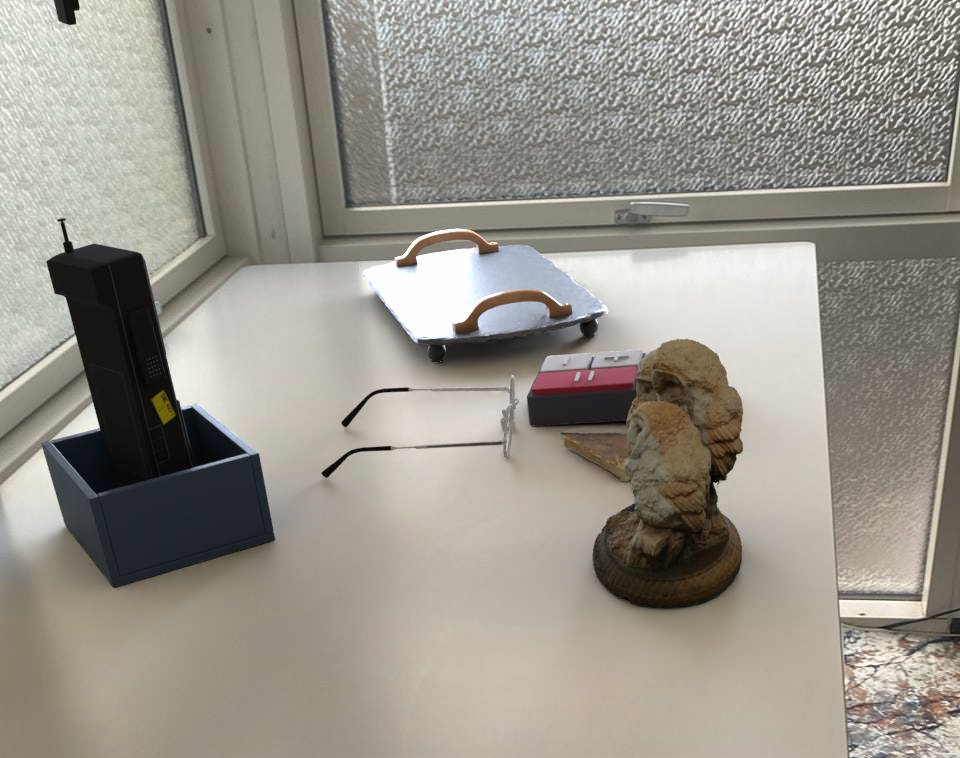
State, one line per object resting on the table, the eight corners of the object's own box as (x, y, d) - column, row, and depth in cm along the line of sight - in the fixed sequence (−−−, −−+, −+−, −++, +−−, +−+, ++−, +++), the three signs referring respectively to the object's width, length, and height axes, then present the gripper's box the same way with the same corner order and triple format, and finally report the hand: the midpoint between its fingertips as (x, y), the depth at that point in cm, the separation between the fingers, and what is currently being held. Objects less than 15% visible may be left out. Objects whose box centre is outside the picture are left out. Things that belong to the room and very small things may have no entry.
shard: (560, 447, 127) (559, 429, 126) (629, 429, 129) (629, 410, 128) (618, 484, 119) (618, 465, 118) (691, 464, 121) (691, 444, 120)
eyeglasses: (518, 474, 123) (514, 420, 120) (319, 484, 125) (311, 432, 122) (524, 411, 135) (521, 362, 132) (344, 422, 137) (336, 373, 134)
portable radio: (221, 521, 118) (156, 216, 102) (166, 546, 115) (91, 235, 99) (168, 501, 122) (98, 206, 107) (114, 525, 119) (34, 224, 104)
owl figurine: (592, 513, 115) (586, 308, 104) (731, 507, 113) (739, 298, 103) (593, 613, 100) (586, 387, 90) (751, 607, 99) (763, 377, 89)
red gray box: (542, 352, 138) (688, 341, 135) (546, 393, 141) (689, 384, 137) (524, 389, 130) (680, 379, 126) (529, 433, 132) (681, 423, 129)
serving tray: (358, 287, 177) (351, 237, 173) (525, 261, 180) (522, 211, 176) (424, 375, 147) (417, 317, 143) (623, 341, 150) (622, 283, 146)
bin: (113, 588, 111) (88, 499, 106) (65, 525, 122) (40, 442, 117) (275, 540, 116) (259, 453, 111) (214, 484, 127) (197, 403, 122)
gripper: (46, -257, 99) (102, 13, 109) (-199, -242, 93) (-115, 43, 104) (71, -265, 93) (128, 21, 104) (-187, -249, 88) (-99, 52, 98)
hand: (7, 31), depth 104 cm, fingers open, 9 cm apart
